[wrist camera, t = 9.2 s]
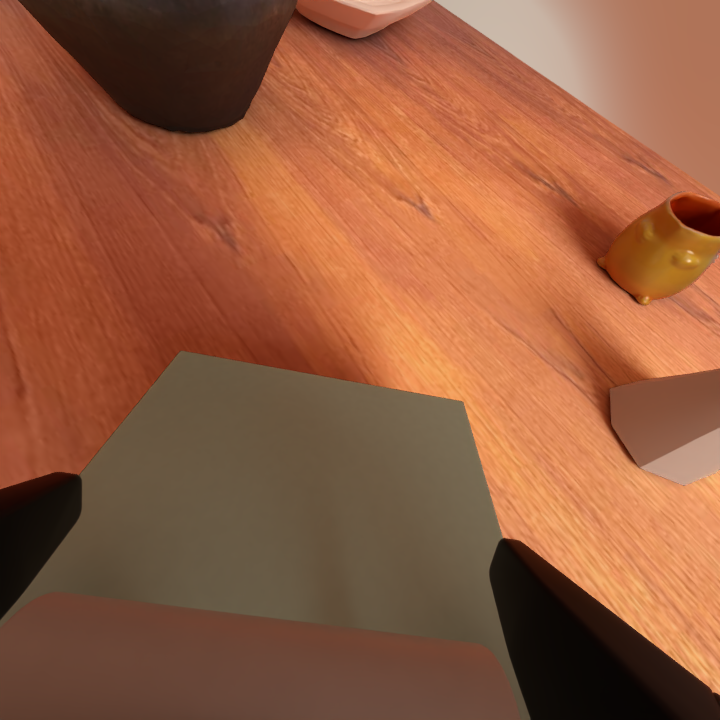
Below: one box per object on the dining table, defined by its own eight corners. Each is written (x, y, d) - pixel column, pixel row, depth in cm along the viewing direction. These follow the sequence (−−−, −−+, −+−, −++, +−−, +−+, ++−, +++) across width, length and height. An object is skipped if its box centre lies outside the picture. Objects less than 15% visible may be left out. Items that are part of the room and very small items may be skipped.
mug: (637, 314, 29) (719, 253, 24) (581, 256, 32) (643, 189, 26) (716, 283, 33) (802, 225, 28) (661, 234, 36) (729, 172, 31)
